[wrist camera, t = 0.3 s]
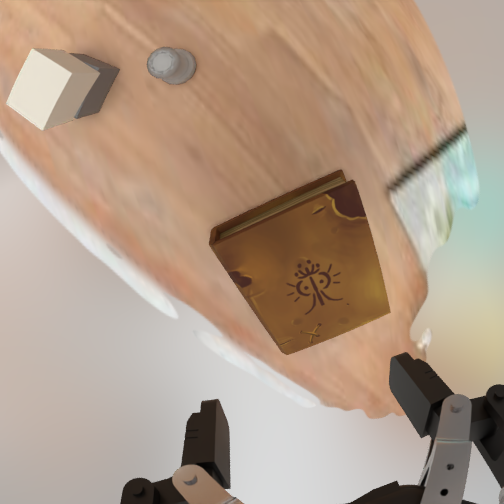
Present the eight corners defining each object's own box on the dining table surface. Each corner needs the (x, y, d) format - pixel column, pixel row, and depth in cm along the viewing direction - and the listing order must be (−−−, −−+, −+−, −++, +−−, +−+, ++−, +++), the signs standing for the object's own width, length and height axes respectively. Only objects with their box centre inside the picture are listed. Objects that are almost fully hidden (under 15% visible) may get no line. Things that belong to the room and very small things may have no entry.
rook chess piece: (166, 45, 27) (147, 35, 21) (202, 55, 28) (192, 46, 22) (153, 79, 29) (131, 78, 23) (188, 89, 30) (174, 90, 24)
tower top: (38, 96, 23) (6, 103, 18) (63, 50, 21) (32, 48, 16) (72, 120, 26) (42, 130, 21) (100, 73, 23) (72, 73, 18)
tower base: (64, 96, 29) (39, 101, 24) (83, 54, 26) (59, 52, 21) (99, 112, 31) (76, 118, 26) (119, 69, 28) (99, 68, 23)
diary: (211, 226, 41) (208, 248, 36) (339, 167, 37) (355, 181, 32) (279, 332, 52) (282, 357, 47) (378, 291, 48) (391, 313, 43)
